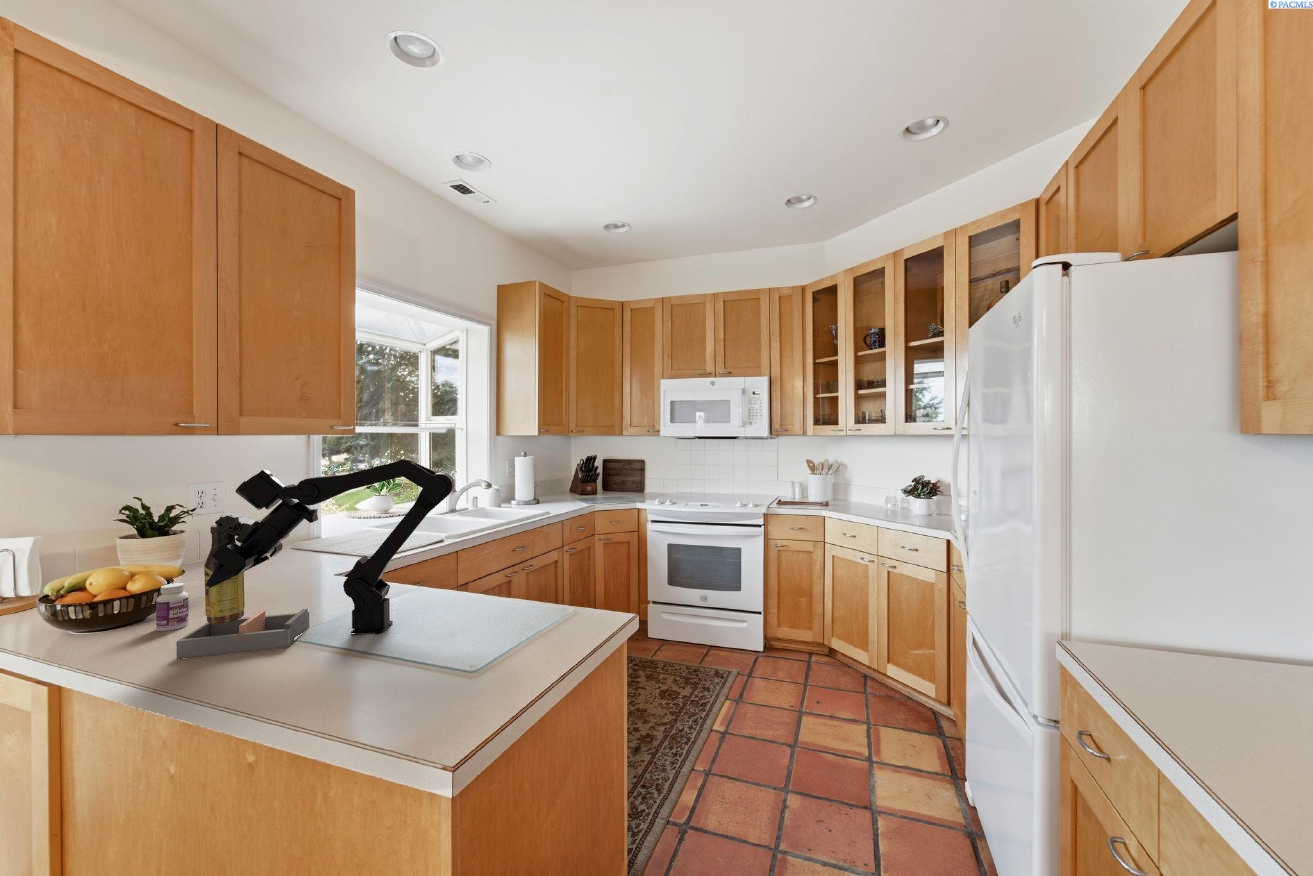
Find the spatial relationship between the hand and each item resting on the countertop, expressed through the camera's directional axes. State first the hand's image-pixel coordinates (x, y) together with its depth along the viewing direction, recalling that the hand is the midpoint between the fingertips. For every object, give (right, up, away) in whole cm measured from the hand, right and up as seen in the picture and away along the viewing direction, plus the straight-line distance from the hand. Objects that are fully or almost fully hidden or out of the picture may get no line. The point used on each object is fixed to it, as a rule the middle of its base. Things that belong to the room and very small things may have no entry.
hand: (216, 581), depth 106 cm
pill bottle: (-19, -14, +11) cm, 26 cm away
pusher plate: (+6, -12, +2) cm, 14 cm away
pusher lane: (+5, -13, +1) cm, 14 cm away
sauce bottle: (+1, -8, 0) cm, 8 cm away
